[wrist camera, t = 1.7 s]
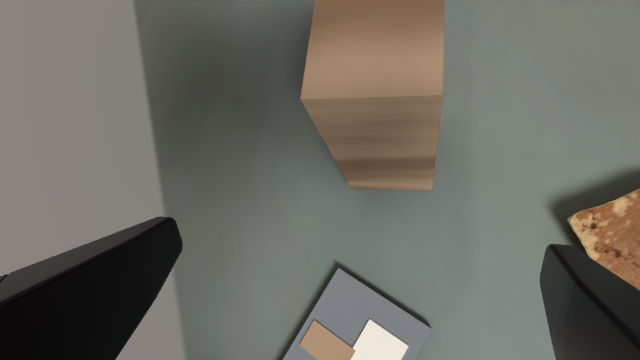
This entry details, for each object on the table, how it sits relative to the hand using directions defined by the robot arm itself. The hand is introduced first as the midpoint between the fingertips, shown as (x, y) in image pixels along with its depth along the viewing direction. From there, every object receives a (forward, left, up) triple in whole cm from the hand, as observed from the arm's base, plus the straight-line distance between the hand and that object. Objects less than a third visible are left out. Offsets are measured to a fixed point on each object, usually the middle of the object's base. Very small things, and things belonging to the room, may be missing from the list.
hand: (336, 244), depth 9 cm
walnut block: (+7, +4, -14) cm, 16 cm away
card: (-5, 0, -14) cm, 14 cm away
